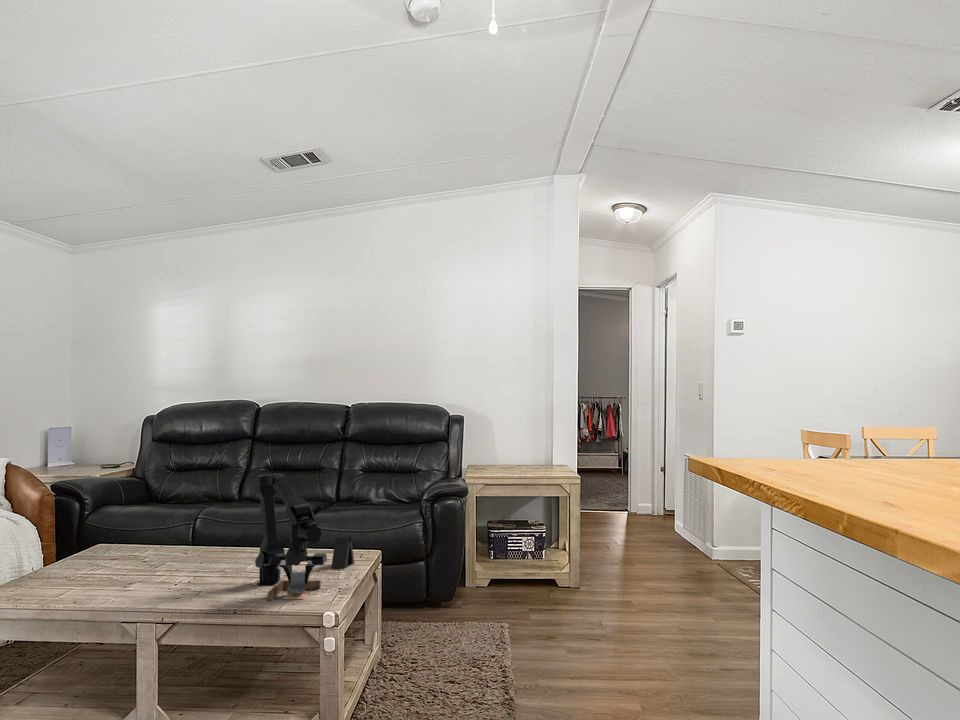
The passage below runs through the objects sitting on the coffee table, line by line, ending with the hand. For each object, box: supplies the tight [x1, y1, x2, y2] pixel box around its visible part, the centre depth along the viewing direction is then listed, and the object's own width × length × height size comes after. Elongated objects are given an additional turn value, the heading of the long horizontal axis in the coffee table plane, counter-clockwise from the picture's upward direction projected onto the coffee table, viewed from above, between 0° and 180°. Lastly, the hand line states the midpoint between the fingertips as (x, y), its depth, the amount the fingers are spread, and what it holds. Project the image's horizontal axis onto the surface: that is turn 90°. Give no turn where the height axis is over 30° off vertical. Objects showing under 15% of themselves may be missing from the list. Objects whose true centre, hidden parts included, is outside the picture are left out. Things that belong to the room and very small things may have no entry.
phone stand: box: [330, 534, 355, 569], centre depth 274 cm, size 9×6×12 cm, turn 166°
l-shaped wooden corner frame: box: [267, 579, 322, 602], centre depth 236 cm, size 14×15×3 cm
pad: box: [283, 591, 311, 600], centre depth 234 cm, size 7×8×1 cm
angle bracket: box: [286, 571, 306, 595], centre depth 234 cm, size 5×5×6 cm
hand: (298, 583), depth 236 cm, fingers closed on angle bracket, 5 cm apart
